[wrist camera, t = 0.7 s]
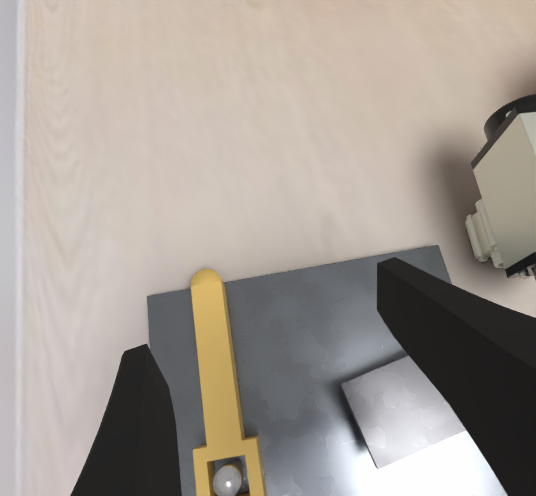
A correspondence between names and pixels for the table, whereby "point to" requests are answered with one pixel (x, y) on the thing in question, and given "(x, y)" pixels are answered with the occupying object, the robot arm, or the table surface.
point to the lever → (220, 389)
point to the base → (306, 385)
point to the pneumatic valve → (507, 190)
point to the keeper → (399, 411)
